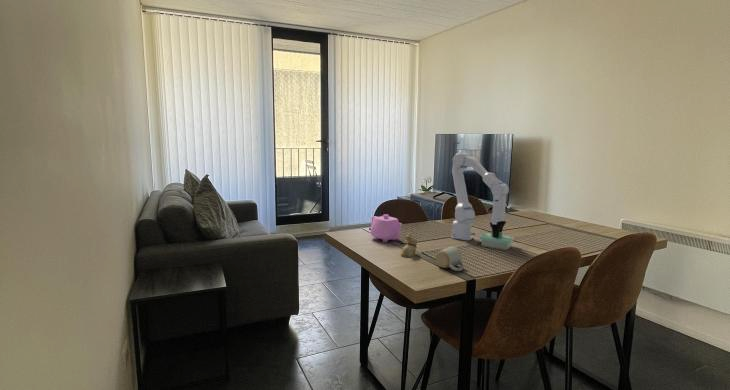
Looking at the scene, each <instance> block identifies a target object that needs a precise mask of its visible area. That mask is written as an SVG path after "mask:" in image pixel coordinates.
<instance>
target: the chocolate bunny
mask: <svg viewBox="0 0 730 390" xmlns="http://www.w3.org/2000/svg"><path fill="white" fill-rule="evenodd" d="M405 240H406V241H407V243H406V244H405V246H403V248H402V250H401V252H400V253H401V254H400V256H401V257H414V256H415V255H416V251H417V248H418V247H417V246H418V245H417V244H418V242H417V238H415V237H414V236H413V235H412V234H411V233H410V232H407V235H406V236H405Z"/></svg>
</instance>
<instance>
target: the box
mask: <svg viewBox="0 0 730 390" xmlns="http://www.w3.org/2000/svg"><path fill="white" fill-rule="evenodd" d="M480 246H481V247H484V248H490V249H491V248H492V249H496V250H497V249H498V250H503V251H508V250H510V248H511V247H512V242H511V243H510V244H503V243H497V242H491V241H485V240H481V245H480Z"/></svg>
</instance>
